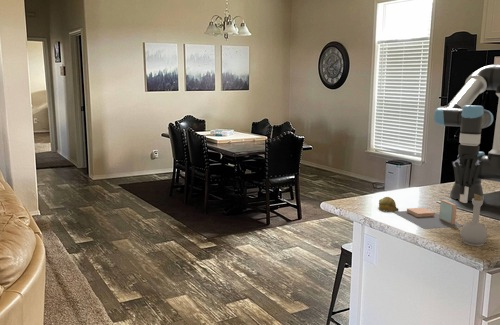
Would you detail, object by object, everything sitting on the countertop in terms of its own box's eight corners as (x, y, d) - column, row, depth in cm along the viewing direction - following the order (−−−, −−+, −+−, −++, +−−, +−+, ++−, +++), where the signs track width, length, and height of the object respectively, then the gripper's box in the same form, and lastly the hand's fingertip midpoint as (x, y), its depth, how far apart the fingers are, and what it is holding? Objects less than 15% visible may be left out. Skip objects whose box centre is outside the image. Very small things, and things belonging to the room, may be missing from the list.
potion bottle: (454, 239, 169) (459, 191, 166) (478, 238, 170) (483, 190, 167) (468, 247, 161) (473, 197, 158) (492, 247, 162) (498, 196, 158)
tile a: (423, 207, 203) (407, 208, 201) (434, 212, 195) (417, 213, 193) (423, 211, 203) (406, 212, 201) (434, 216, 195) (417, 217, 193)
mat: (428, 211, 206) (428, 209, 206) (464, 227, 183) (464, 226, 183) (391, 213, 202) (391, 211, 202) (424, 230, 179) (424, 228, 179)
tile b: (442, 218, 193) (443, 199, 191) (454, 224, 185) (456, 204, 184) (438, 218, 192) (440, 199, 191) (451, 224, 185) (453, 205, 183)
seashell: (395, 221, 205) (403, 205, 207) (392, 214, 199) (401, 198, 201) (375, 212, 210) (383, 198, 212) (372, 206, 205) (380, 191, 207)
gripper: (476, 143, 190) (470, 199, 194) (448, 143, 187) (443, 200, 191) (490, 145, 183) (483, 203, 187) (461, 145, 180) (455, 204, 184)
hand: (463, 201), depth 189 cm, fingers closed
